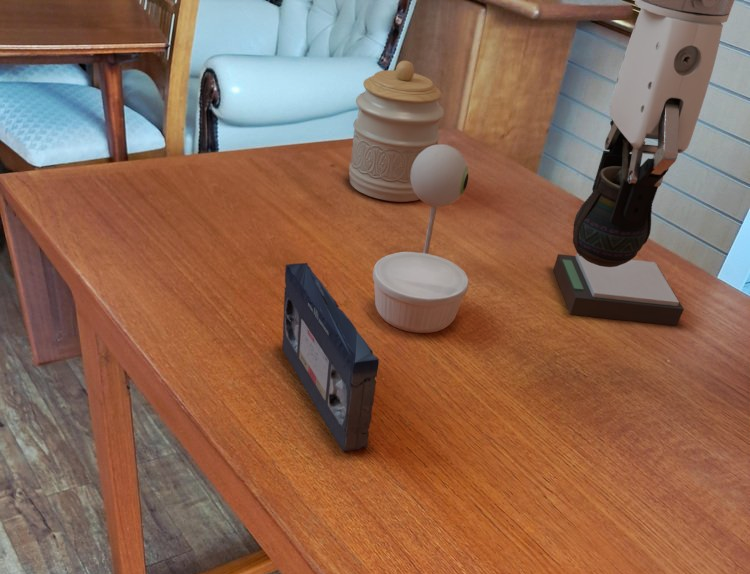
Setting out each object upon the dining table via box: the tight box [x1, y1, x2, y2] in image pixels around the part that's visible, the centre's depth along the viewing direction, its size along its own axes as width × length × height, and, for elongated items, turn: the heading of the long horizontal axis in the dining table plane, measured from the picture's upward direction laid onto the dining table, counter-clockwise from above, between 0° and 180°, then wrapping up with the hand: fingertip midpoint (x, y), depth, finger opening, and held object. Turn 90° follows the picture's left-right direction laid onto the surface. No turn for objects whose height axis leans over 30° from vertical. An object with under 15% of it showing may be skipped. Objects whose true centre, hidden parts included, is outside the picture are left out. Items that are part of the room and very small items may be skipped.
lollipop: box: [410, 143, 469, 254], centre depth 100 cm, size 7×7×15 cm
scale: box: [552, 252, 685, 327], centre depth 103 cm, size 14×12×3 cm
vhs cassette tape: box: [282, 262, 380, 452], centre depth 76 cm, size 18×3×10 cm, turn 22°
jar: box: [348, 60, 445, 203], centre depth 117 cm, size 13×13×18 cm
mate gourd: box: [572, 139, 653, 267], centre depth 76 cm, size 7×8×10 cm
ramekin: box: [372, 251, 469, 334], centre depth 93 cm, size 11×11×5 cm
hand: (617, 207), depth 75 cm, fingers closed on mate gourd, 6 cm apart
